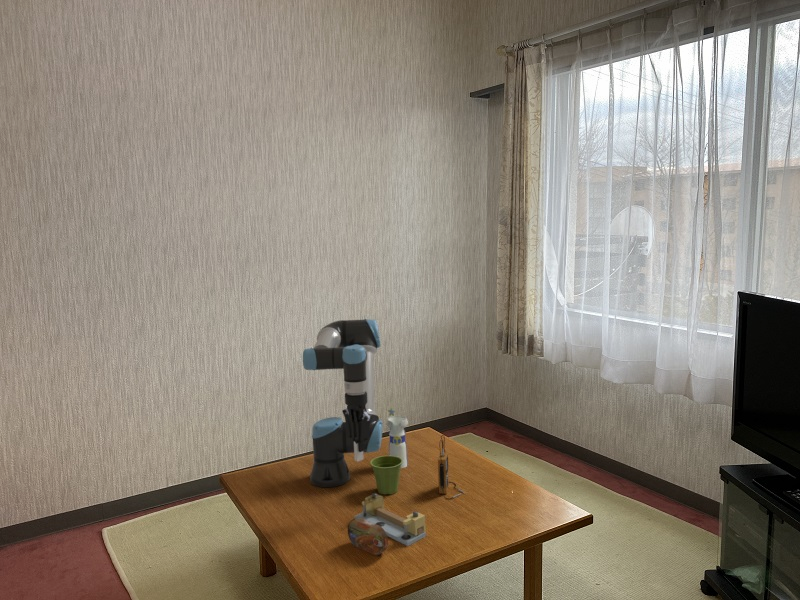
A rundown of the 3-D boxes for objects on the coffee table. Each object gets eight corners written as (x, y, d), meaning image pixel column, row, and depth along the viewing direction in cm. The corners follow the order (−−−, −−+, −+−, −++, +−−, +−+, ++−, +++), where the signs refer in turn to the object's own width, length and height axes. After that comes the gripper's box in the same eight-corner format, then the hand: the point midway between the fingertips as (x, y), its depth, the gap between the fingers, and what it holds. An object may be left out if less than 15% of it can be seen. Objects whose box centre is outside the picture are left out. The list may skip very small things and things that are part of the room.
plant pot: (408, 485, 230) (407, 456, 228) (397, 499, 219) (396, 469, 217) (378, 482, 234) (377, 453, 232) (366, 495, 223) (365, 466, 221)
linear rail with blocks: (355, 519, 206) (354, 497, 205) (374, 510, 211) (373, 489, 210) (407, 546, 188) (406, 522, 187) (426, 535, 193) (426, 512, 192)
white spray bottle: (409, 468, 245) (407, 407, 242) (388, 469, 245) (385, 408, 242) (409, 460, 253) (407, 401, 250) (388, 461, 254) (386, 402, 250)
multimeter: (465, 500, 216) (464, 445, 213) (437, 499, 218) (435, 444, 215) (469, 482, 230) (468, 431, 228) (442, 481, 232) (441, 430, 230)
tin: (347, 543, 191) (346, 517, 190) (354, 539, 193) (353, 513, 192) (383, 559, 181) (381, 532, 180) (390, 555, 183) (389, 528, 182)
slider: (359, 514, 206) (358, 496, 205) (375, 507, 210) (375, 489, 210) (367, 518, 203) (366, 500, 202) (383, 510, 207) (383, 493, 207)
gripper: (334, 391, 209) (338, 458, 212) (359, 398, 200) (363, 468, 203) (352, 386, 214) (355, 452, 217) (377, 393, 205) (380, 461, 208)
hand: (359, 459), depth 210 cm, fingers closed
